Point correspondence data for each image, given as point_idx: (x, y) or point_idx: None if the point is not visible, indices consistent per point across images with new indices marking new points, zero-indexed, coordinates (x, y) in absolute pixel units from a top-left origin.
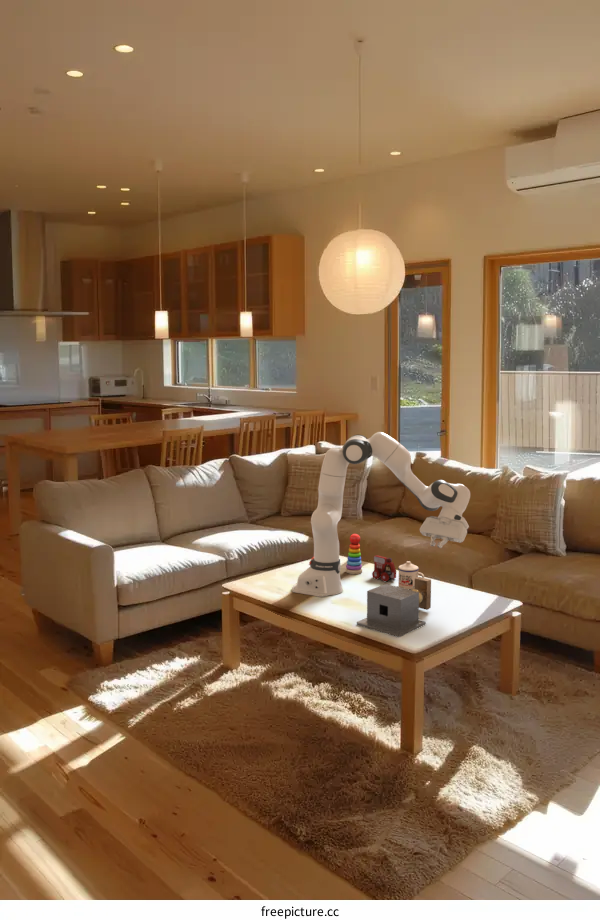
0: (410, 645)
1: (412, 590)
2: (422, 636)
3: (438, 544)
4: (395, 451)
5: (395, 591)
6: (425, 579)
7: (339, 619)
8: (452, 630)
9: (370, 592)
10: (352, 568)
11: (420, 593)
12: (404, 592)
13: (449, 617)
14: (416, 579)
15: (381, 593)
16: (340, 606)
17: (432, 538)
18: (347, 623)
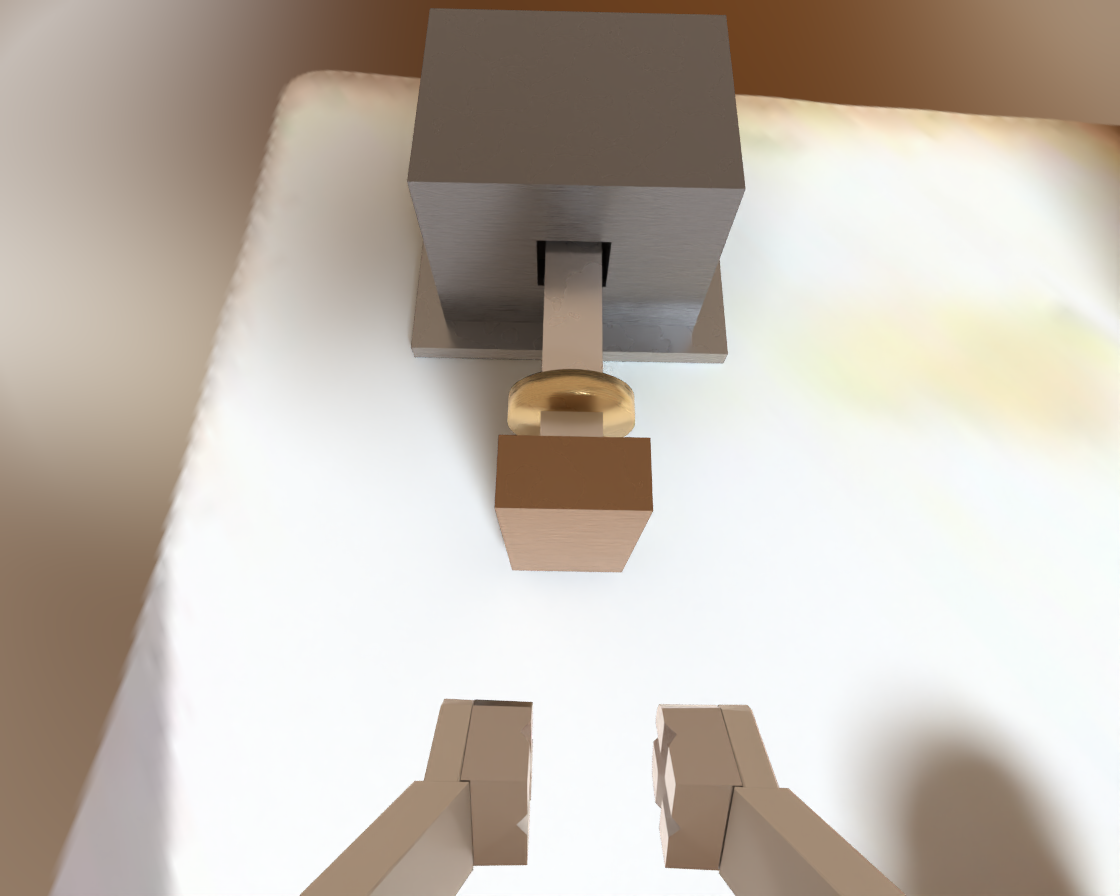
0: (341, 110)
1: (588, 374)
2: (345, 218)
3: (496, 717)
4: None
5: (564, 103)
6: (542, 473)
7: (824, 158)
8: (237, 375)
9: (695, 18)
10: None
11: (519, 397)
12: (496, 120)
13: (348, 556)
14: (626, 440)
15: (615, 27)
16: (988, 297)
17: (801, 863)
18: (753, 142)
